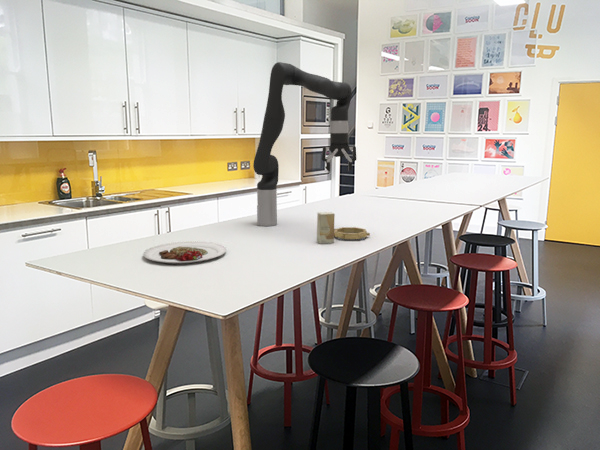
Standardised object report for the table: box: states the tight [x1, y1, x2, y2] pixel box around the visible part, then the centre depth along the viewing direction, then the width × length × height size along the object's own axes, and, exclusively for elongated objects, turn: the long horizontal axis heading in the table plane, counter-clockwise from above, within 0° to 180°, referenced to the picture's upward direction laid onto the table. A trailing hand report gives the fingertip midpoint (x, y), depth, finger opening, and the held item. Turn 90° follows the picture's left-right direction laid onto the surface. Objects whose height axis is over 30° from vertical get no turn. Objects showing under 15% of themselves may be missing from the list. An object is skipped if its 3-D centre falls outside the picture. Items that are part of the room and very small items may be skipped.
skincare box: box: [316, 211, 336, 245], centre depth 205 cm, size 6×4×12 cm
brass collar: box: [334, 226, 371, 239], centre depth 215 cm, size 16×13×2 cm
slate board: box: [337, 237, 366, 241], centre depth 215 cm, size 11×11×1 cm
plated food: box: [142, 241, 227, 264], centre depth 187 cm, size 30×30×3 cm
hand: (339, 171), depth 212 cm, fingers open, 8 cm apart
